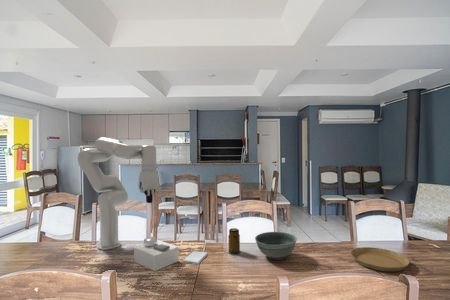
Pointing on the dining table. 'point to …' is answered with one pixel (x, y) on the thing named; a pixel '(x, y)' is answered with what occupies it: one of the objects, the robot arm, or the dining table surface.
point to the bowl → (276, 244)
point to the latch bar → (161, 247)
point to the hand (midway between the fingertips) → (149, 202)
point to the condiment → (234, 242)
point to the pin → (150, 242)
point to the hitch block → (155, 256)
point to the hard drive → (195, 257)
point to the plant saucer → (380, 259)
